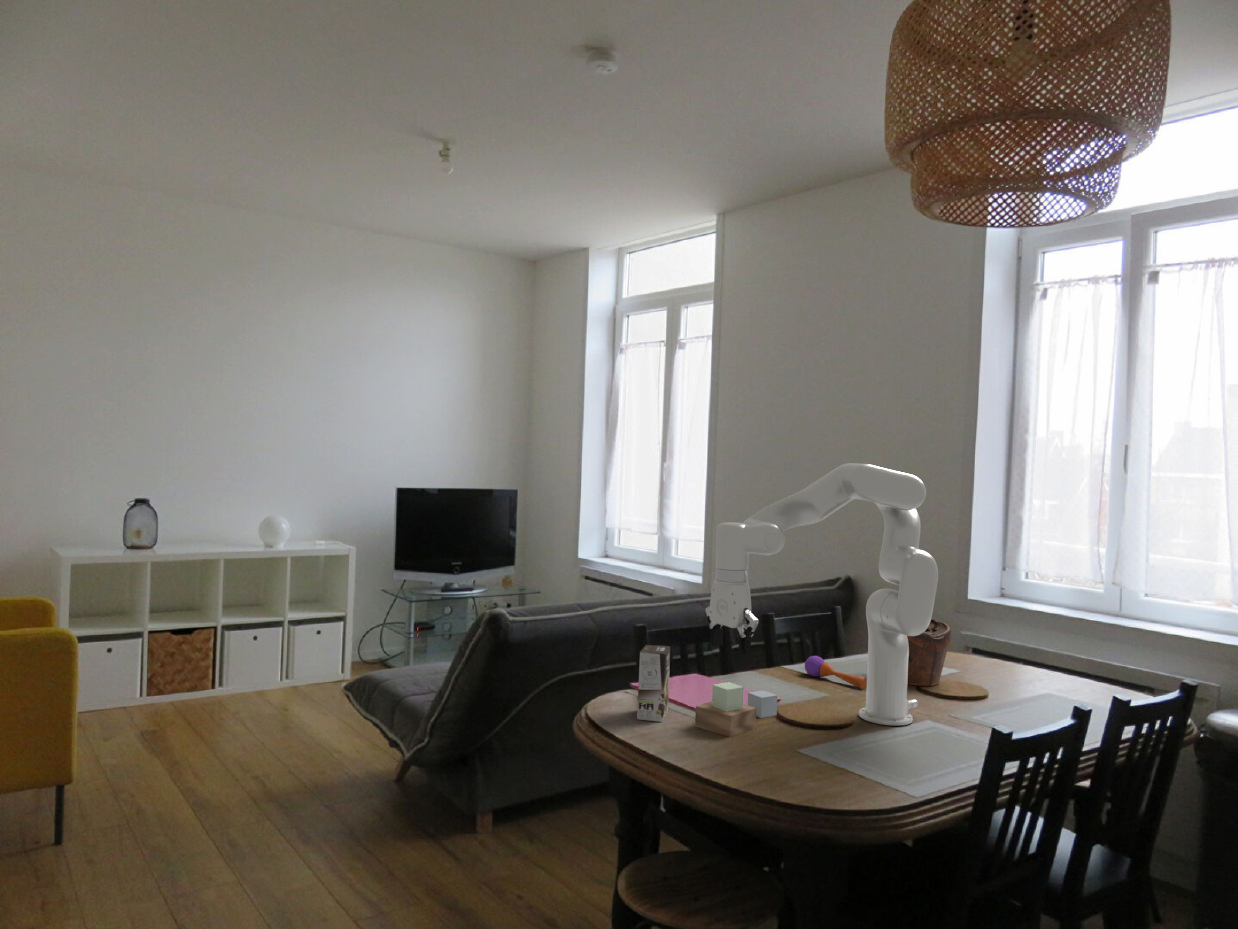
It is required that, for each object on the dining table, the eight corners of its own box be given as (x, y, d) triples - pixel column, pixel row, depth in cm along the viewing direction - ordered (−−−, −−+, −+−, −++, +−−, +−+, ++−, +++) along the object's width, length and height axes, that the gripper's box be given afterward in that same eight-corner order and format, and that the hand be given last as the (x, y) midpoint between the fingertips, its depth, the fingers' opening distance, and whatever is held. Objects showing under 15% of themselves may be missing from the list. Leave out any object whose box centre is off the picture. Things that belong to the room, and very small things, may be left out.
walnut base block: (721, 719, 213) (721, 698, 213) (755, 729, 206) (756, 708, 206) (695, 727, 206) (695, 706, 206) (729, 738, 199) (730, 716, 199)
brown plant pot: (957, 678, 260) (958, 617, 260) (941, 693, 243) (943, 628, 243) (895, 669, 270) (897, 610, 269) (876, 683, 253) (877, 620, 253)
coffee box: (663, 722, 208) (665, 653, 208) (636, 720, 209) (638, 651, 209) (669, 711, 217) (671, 645, 216) (643, 709, 218) (645, 643, 218)
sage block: (728, 703, 209) (728, 682, 209) (742, 708, 205) (743, 687, 205) (711, 706, 206) (712, 684, 206) (726, 711, 202) (727, 689, 202)
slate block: (762, 710, 221) (763, 690, 221) (776, 715, 217) (777, 695, 217) (747, 712, 218) (748, 692, 218) (761, 718, 214) (761, 697, 214)
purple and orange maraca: (857, 677, 242) (800, 656, 258) (857, 697, 243) (800, 676, 259) (870, 670, 246) (813, 650, 261) (871, 690, 247) (813, 669, 262)
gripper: (695, 572, 211) (694, 644, 211) (744, 582, 196) (743, 659, 197) (720, 570, 215) (718, 640, 215) (769, 580, 200) (768, 655, 201)
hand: (730, 649), depth 206 cm, fingers open, 9 cm apart
